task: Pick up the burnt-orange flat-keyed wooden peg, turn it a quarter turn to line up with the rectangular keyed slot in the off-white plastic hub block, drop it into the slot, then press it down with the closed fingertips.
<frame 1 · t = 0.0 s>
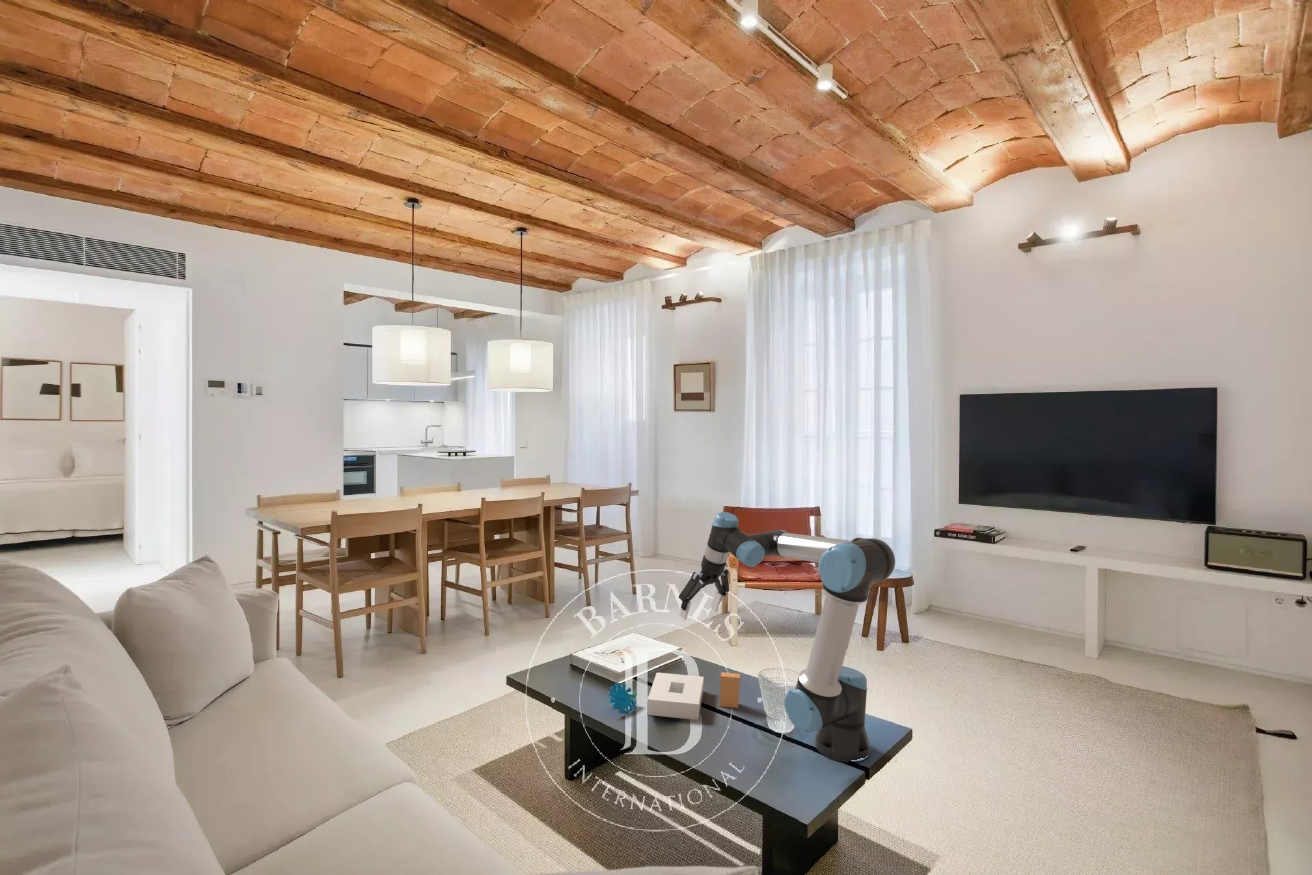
hand: (698, 613, 220), 28 cm above the table, tool tilted 20°, fingers open, 13 cm apart
hub: (676, 702, 216), on the table
blue virus model: (623, 709, 211), on the table
peg: (729, 704, 216), on the table
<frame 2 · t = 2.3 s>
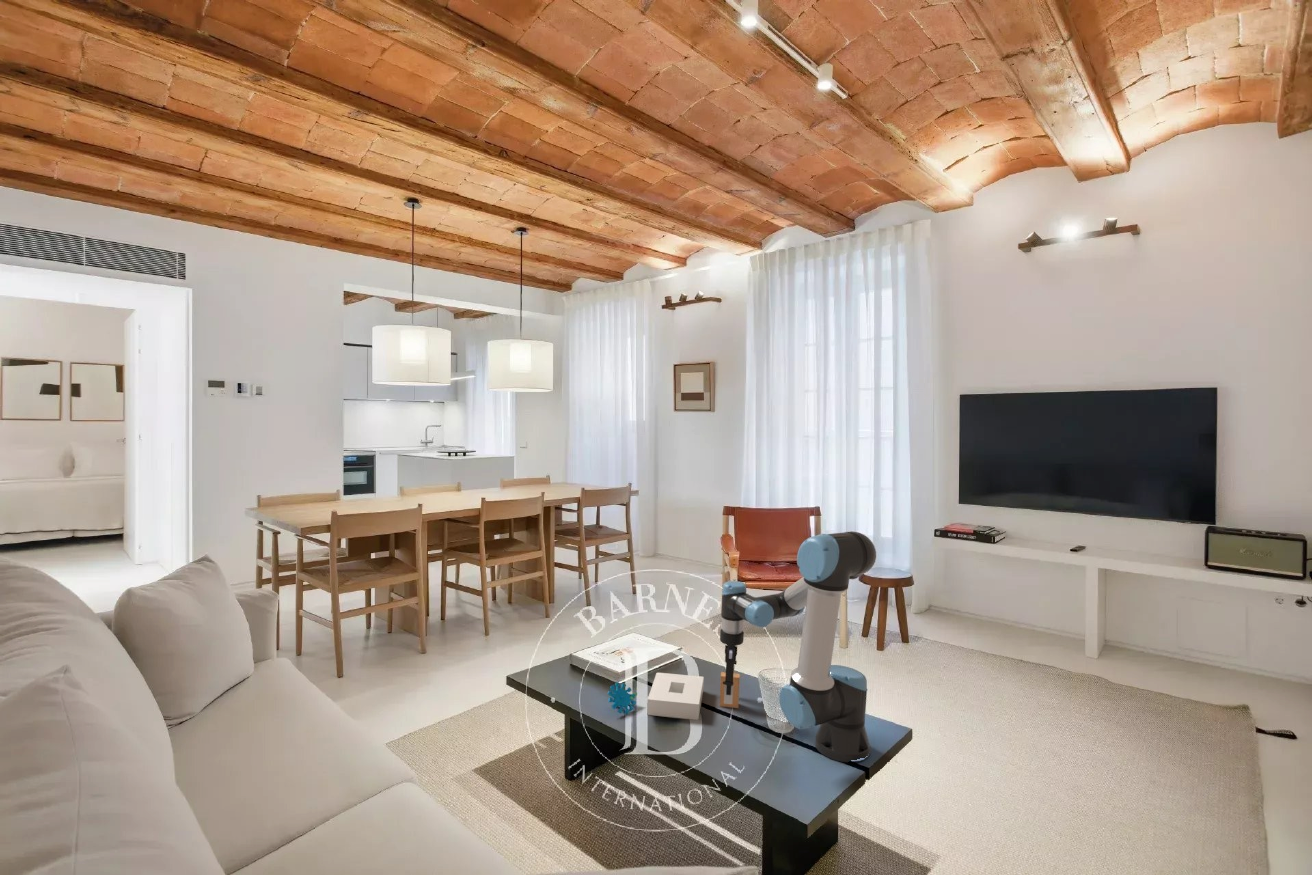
hand: (728, 693, 216), 4 cm above the table, tool pointing down, fingers open, 13 cm apart
nothing on the table moved.
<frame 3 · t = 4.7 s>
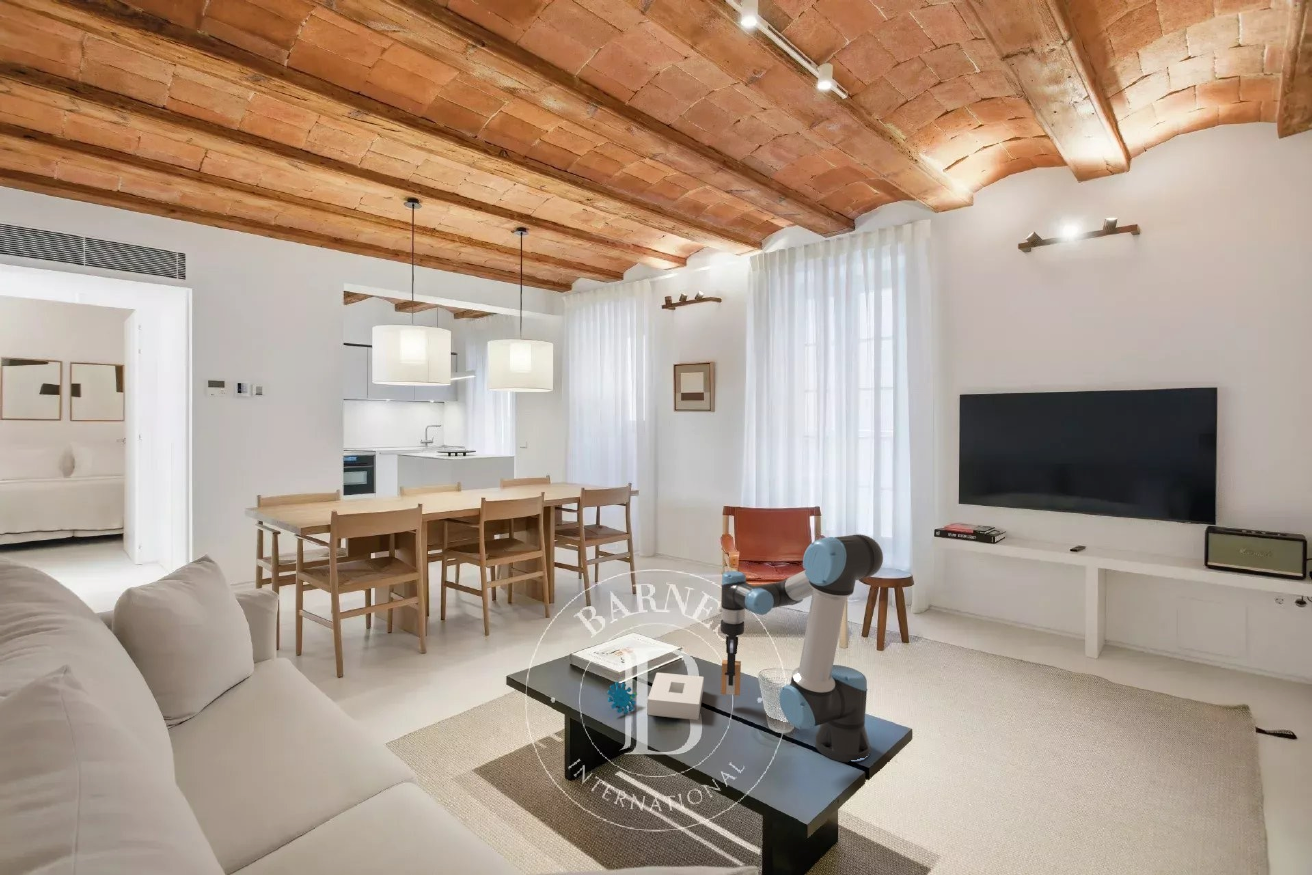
hand: (730, 691, 215), 5 cm above the table, tool pointing down, fingers closed on peg, 3 cm apart
peg: (730, 692, 215), point 4 cm above the table, touching gripper
everything else where it was.
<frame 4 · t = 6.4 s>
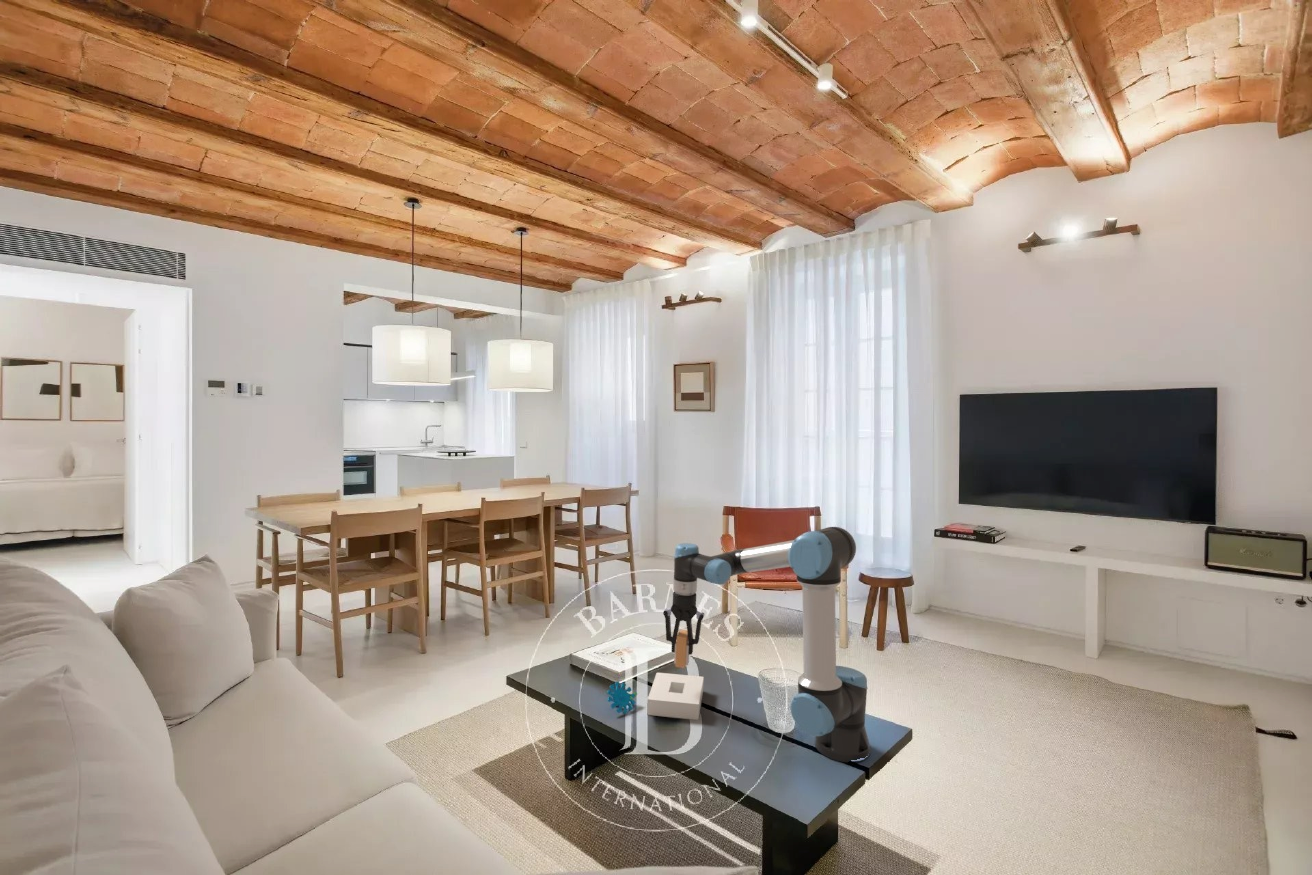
hand: (681, 662, 216), 13 cm above the table, tool pointing down, fingers closed on peg, 3 cm apart
peg: (681, 663, 216), point 13 cm above the table, touching gripper
everything else where it was.
when the fingers open (7 cm above the table, at t = 8.5 s): peg drops 6 cm, resting in hub.
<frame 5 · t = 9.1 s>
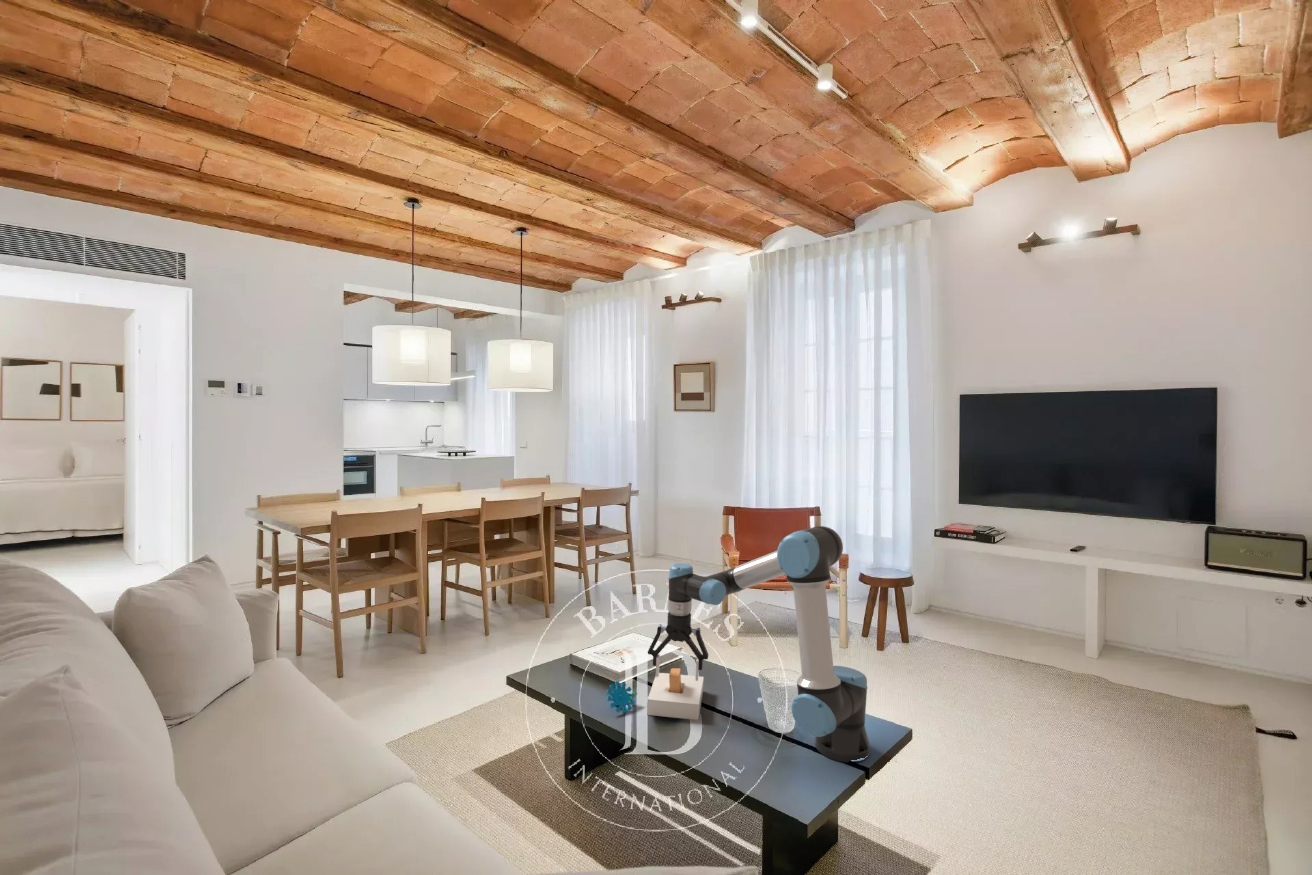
hand: (677, 677, 216), 8 cm above the table, tool pointing down, fingers open, 12 cm apart
peg: (676, 702, 216), resting in hub
everything else where it was.
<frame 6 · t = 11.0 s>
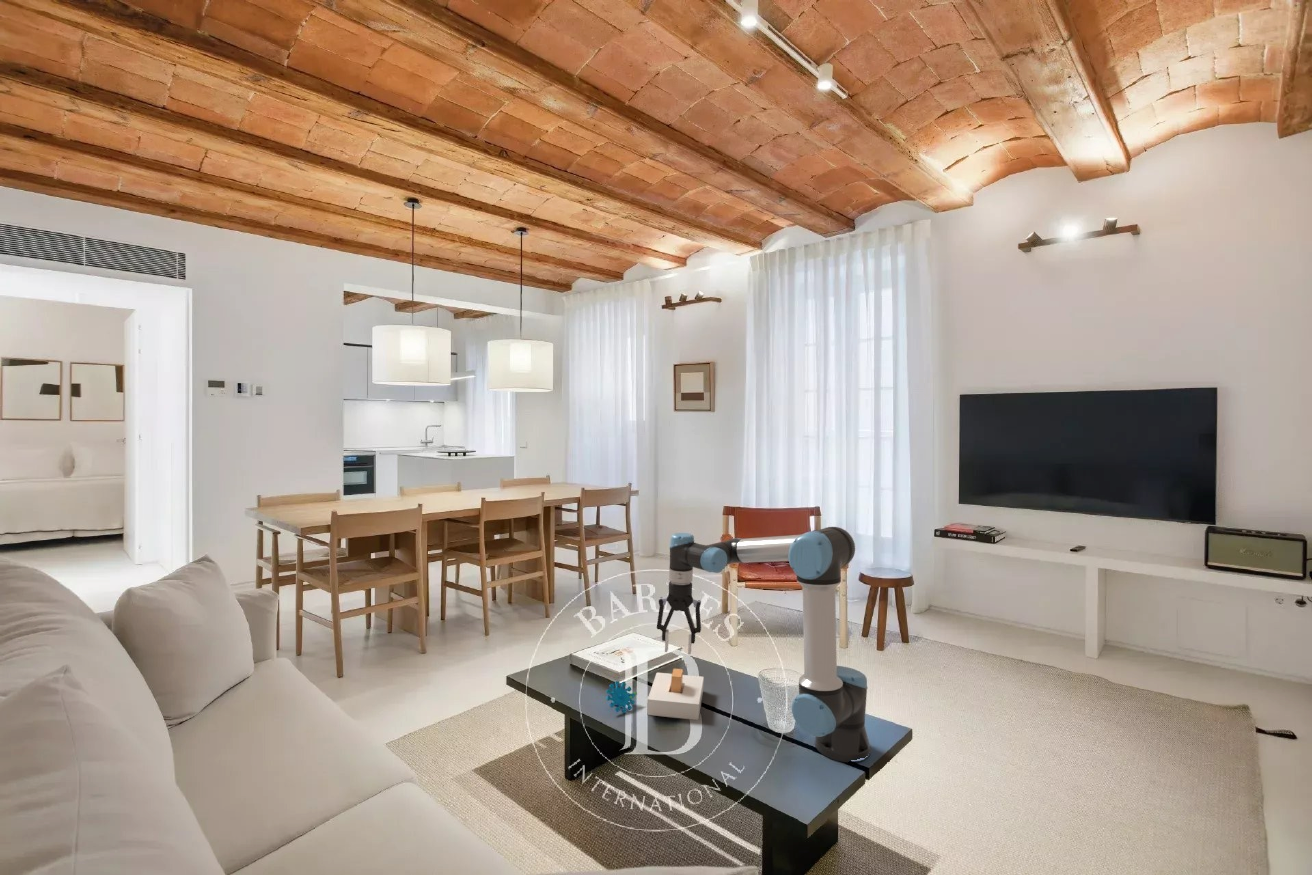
hand: (678, 651, 215), 17 cm above the table, tool pointing down, fingers open, 7 cm apart
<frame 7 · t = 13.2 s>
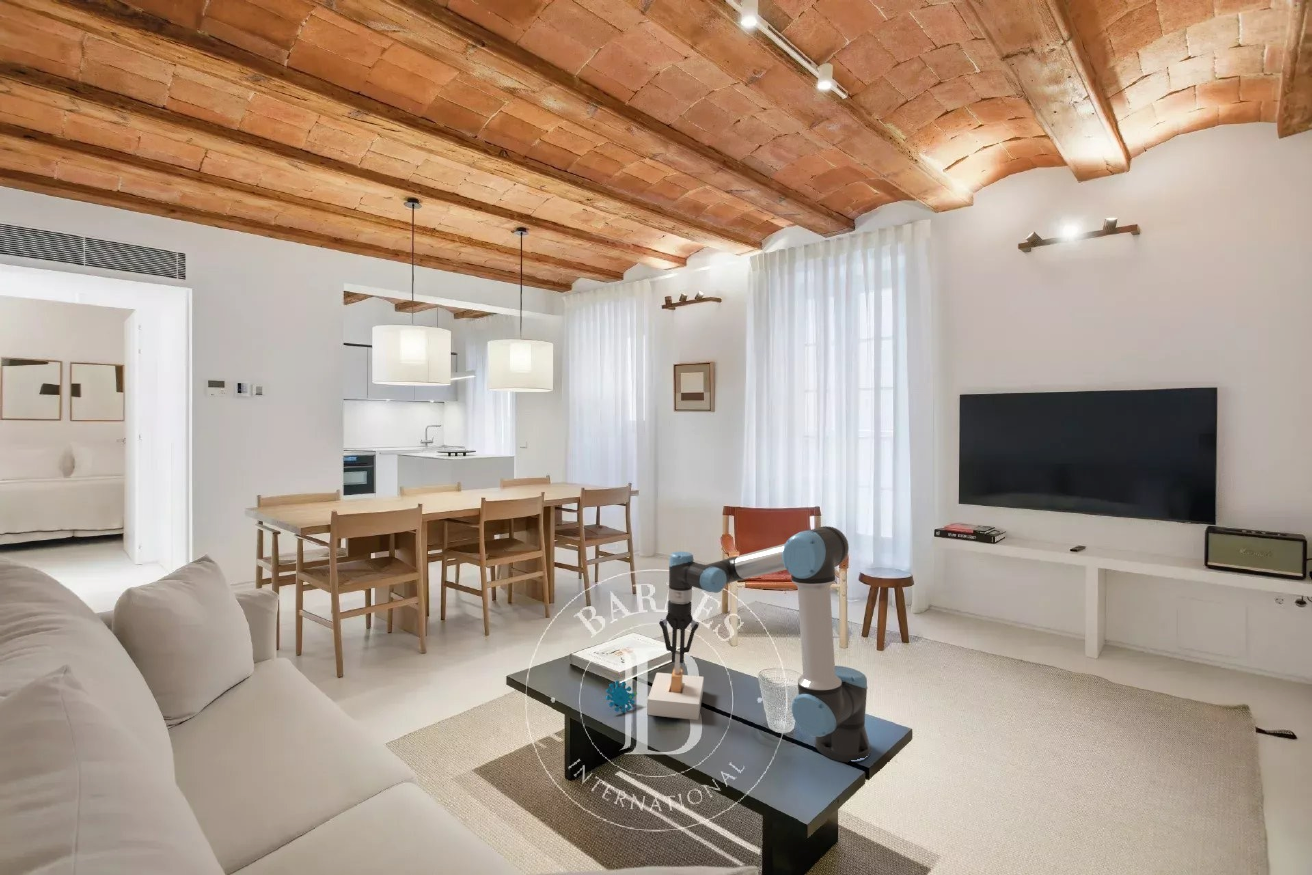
hand: (677, 671, 215), 10 cm above the table, tool pointing down, fingers closed
peg: (676, 702, 216), resting in hub, touching gripper
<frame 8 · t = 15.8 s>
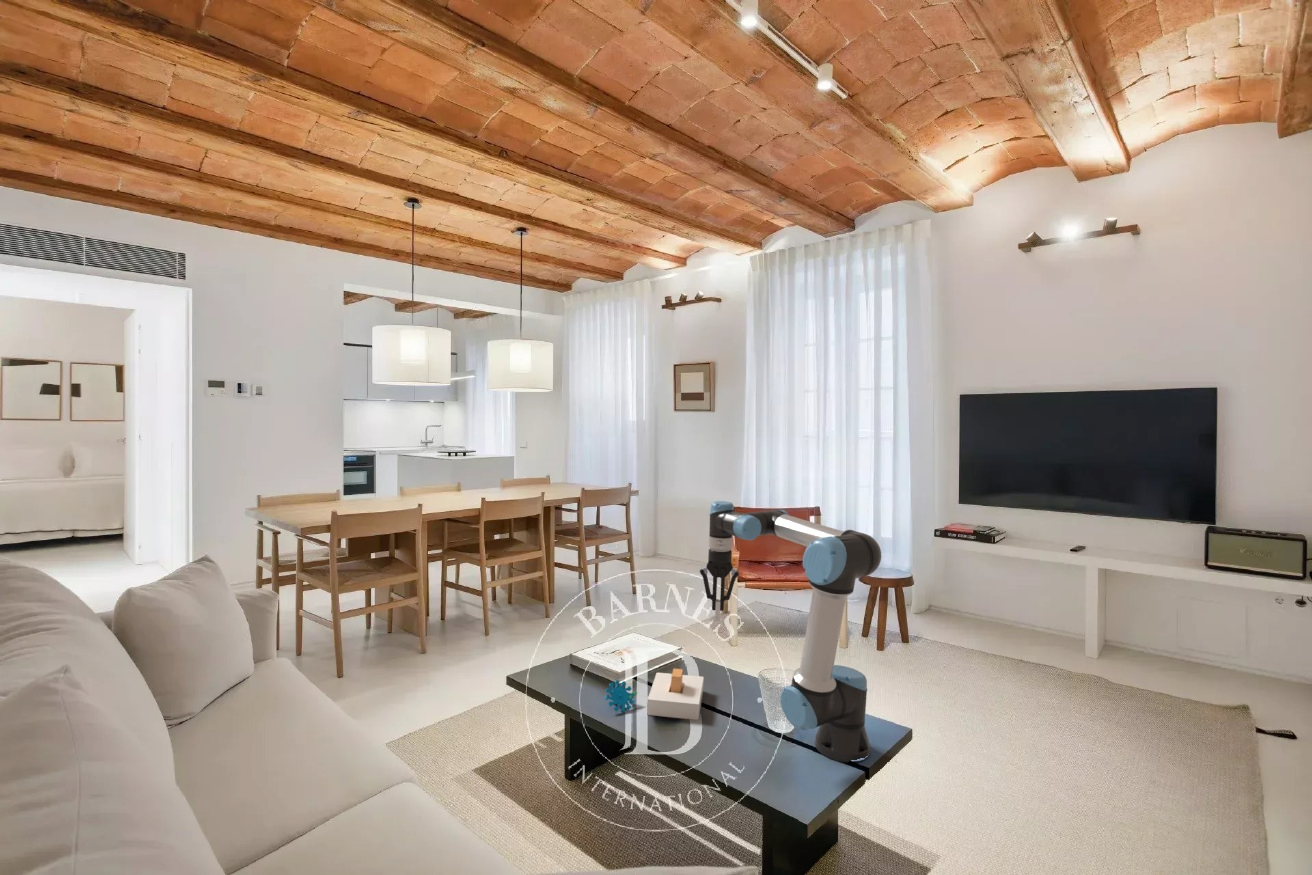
hand: (717, 619, 218), 26 cm above the table, tool pointing down, fingers closed
peg: (676, 702, 216), resting in hub
at the end: peg 0.0 cm off-centre on the hub, point 0.0 cm above the hub's base; peg tilted 0°; the gripper is holding nothing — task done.
